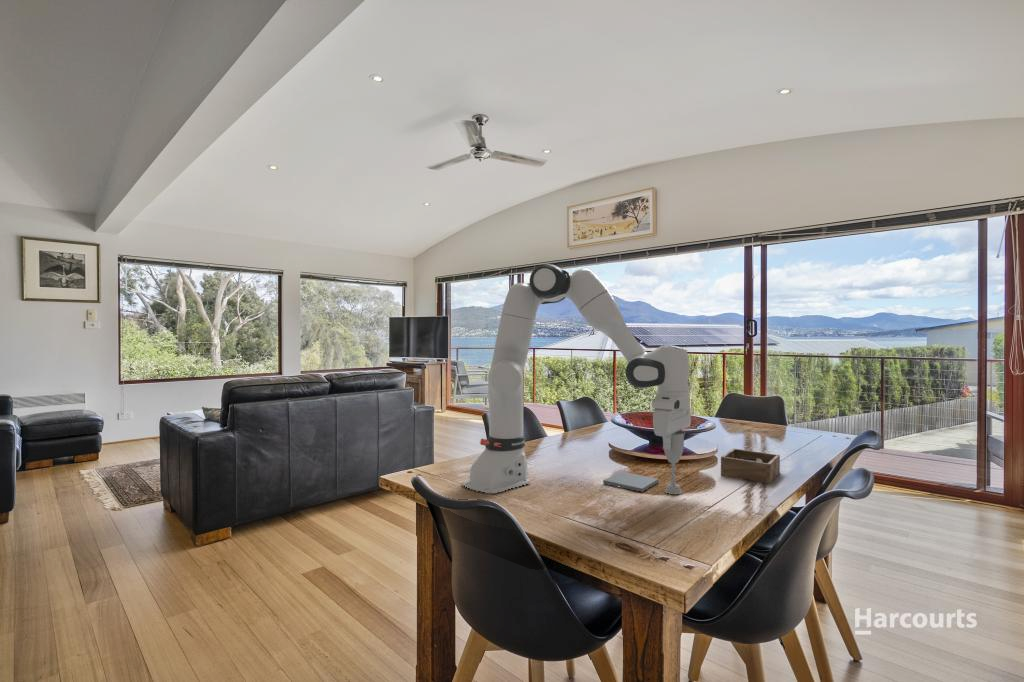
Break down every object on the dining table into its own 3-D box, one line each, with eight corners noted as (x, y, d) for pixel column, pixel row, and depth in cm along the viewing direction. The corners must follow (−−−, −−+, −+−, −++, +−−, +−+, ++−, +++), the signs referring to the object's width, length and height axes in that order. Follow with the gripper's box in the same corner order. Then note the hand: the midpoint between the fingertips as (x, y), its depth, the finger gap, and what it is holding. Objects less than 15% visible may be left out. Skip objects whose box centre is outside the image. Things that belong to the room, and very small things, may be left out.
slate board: (642, 492, 144) (642, 488, 144) (603, 483, 152) (603, 480, 152) (658, 482, 153) (658, 478, 153) (621, 474, 161) (621, 471, 161)
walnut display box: (769, 483, 151) (769, 464, 151) (720, 474, 161) (720, 456, 161) (779, 472, 163) (779, 455, 163) (733, 465, 172) (733, 448, 172)
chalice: (685, 497, 139) (685, 435, 139) (660, 494, 142) (660, 433, 141) (685, 489, 146) (685, 430, 146) (661, 487, 148) (662, 428, 148)
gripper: (676, 395, 153) (676, 438, 154) (648, 402, 138) (648, 451, 138) (696, 396, 149) (696, 441, 150) (670, 405, 134) (670, 455, 134)
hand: (673, 446), depth 144 cm, fingers closed on chalice, 6 cm apart
